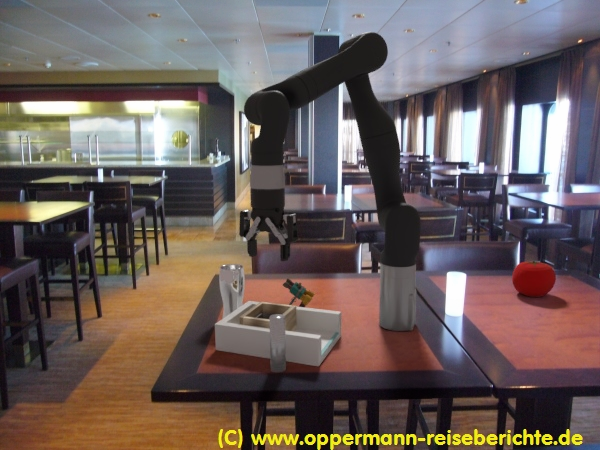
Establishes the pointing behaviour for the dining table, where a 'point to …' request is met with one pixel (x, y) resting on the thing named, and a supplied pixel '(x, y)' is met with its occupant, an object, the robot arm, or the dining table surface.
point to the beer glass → (231, 287)
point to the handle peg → (277, 343)
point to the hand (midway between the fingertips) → (268, 258)
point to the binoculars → (299, 292)
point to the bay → (299, 343)
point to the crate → (265, 310)
